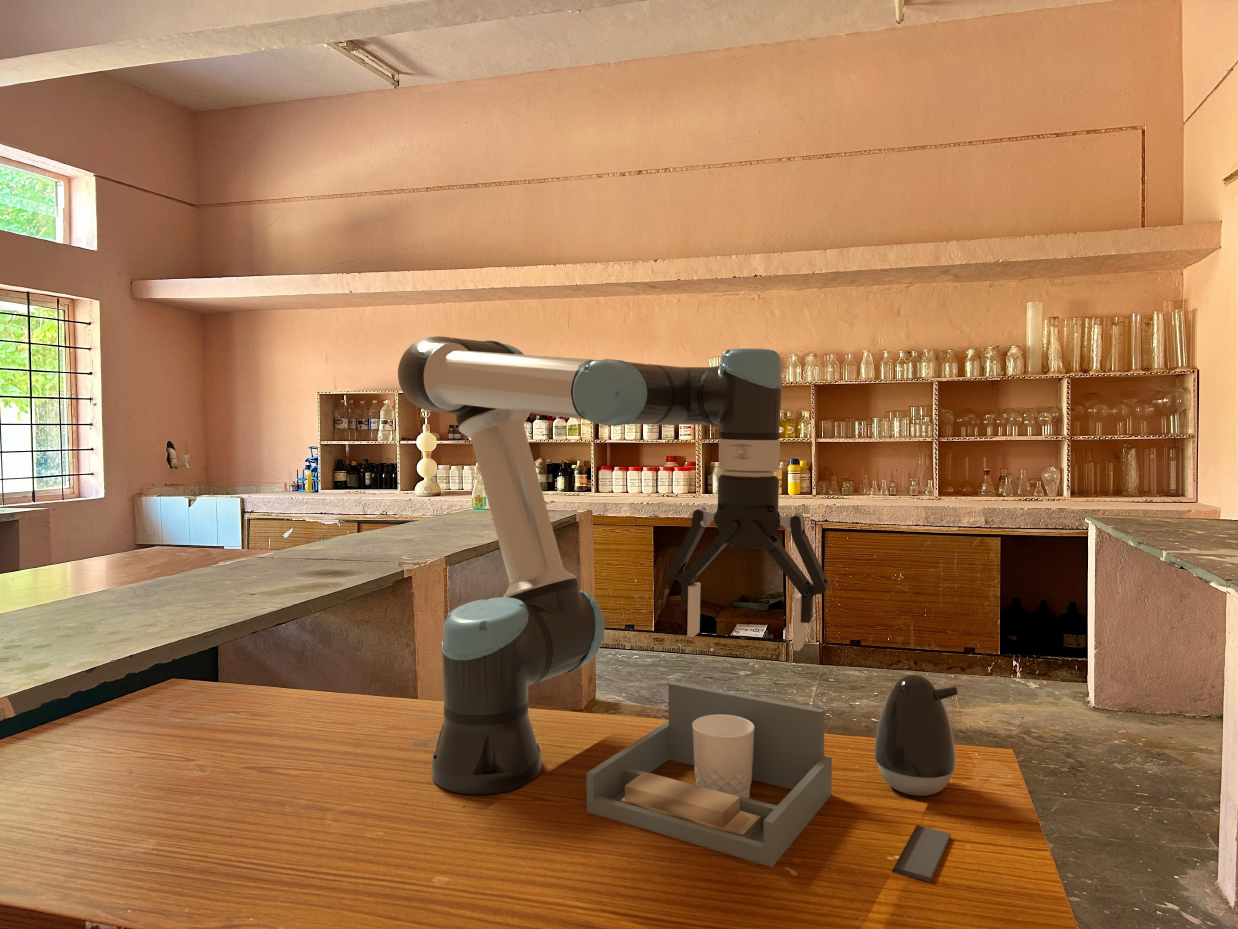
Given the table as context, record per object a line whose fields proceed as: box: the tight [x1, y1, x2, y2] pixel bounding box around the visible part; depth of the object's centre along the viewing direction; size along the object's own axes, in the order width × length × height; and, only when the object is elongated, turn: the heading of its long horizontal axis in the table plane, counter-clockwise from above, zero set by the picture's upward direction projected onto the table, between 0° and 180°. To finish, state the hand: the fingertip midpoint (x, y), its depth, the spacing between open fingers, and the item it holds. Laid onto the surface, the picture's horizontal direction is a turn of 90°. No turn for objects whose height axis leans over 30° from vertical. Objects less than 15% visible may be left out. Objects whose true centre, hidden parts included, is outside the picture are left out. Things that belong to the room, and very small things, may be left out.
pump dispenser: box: [873, 673, 959, 797], centre depth 108 cm, size 10×10×15 cm
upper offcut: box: [625, 772, 740, 828], centre depth 97 cm, size 13×5×2 cm, turn 58°
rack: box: [585, 680, 833, 868], centre depth 102 cm, size 24×20×12 cm
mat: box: [891, 824, 951, 883], centre depth 94 cm, size 11×11×1 cm
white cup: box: [692, 715, 755, 799], centre depth 105 cm, size 8×8×10 cm
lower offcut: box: [621, 797, 761, 840], centre depth 97 cm, size 16×5×2 cm, turn 58°
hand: (744, 641), depth 103 cm, fingers open, 13 cm apart
